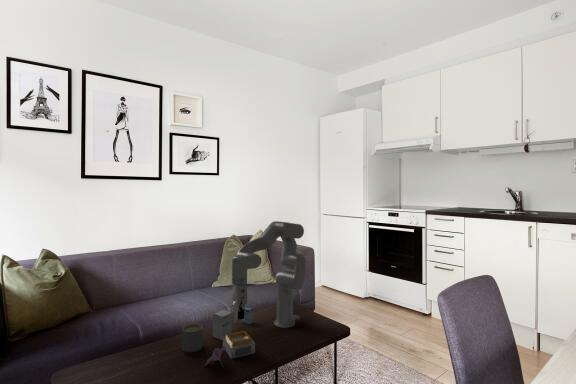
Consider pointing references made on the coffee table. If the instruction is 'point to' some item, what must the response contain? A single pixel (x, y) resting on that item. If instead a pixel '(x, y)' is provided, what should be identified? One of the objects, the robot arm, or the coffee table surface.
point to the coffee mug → (192, 337)
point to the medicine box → (248, 315)
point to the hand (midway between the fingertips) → (238, 316)
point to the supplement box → (222, 324)
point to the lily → (216, 355)
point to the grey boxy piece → (238, 344)
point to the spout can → (236, 313)
